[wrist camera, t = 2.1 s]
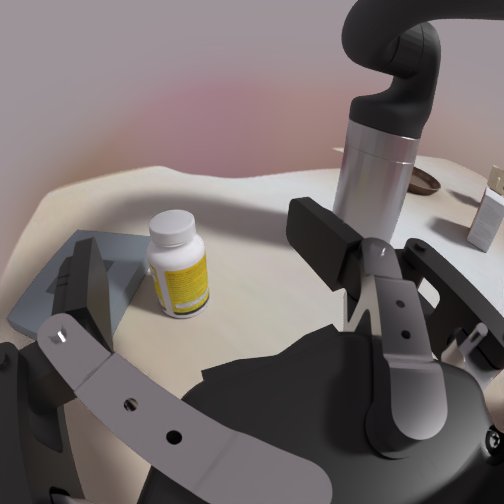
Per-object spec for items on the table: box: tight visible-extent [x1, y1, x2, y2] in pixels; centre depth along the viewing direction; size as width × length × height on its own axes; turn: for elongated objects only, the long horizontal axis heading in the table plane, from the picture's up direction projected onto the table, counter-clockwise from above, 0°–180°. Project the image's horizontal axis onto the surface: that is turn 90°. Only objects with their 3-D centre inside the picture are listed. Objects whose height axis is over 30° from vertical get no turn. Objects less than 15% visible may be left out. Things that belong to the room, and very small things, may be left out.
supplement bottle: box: [147, 210, 209, 318], centre depth 25 cm, size 5×5×10 cm
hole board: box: [6, 230, 151, 341], centre depth 28 cm, size 18×14×2 cm
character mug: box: [487, 166, 504, 196], centre depth 52 cm, size 11×7×13 cm, turn 121°
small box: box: [466, 187, 504, 253], centre depth 38 cm, size 8×6×10 cm
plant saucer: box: [407, 167, 441, 195], centre depth 61 cm, size 18×18×3 cm
